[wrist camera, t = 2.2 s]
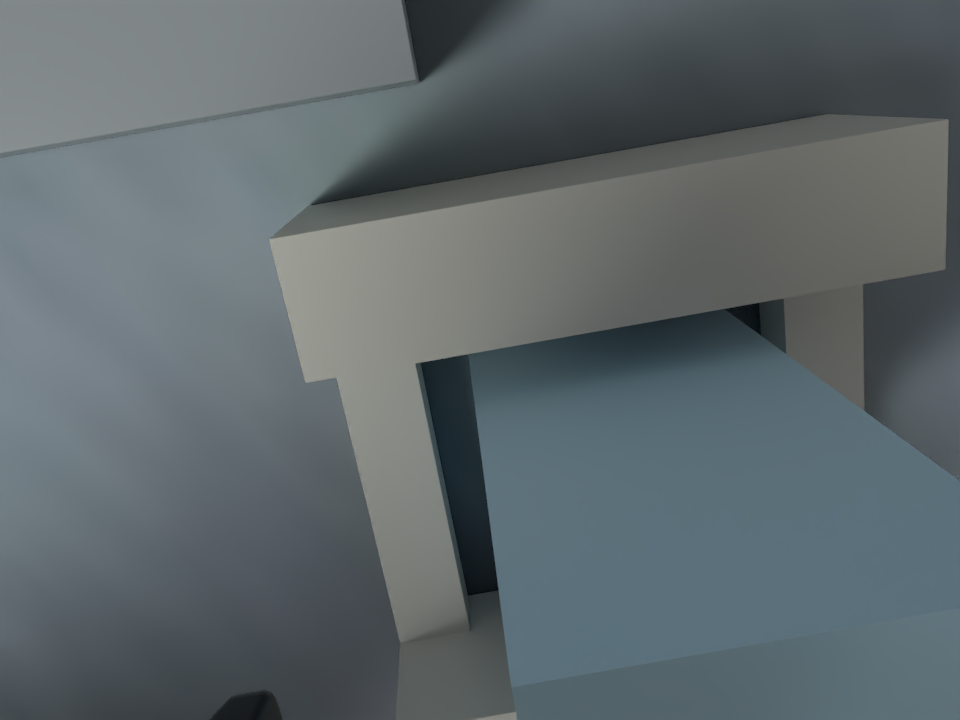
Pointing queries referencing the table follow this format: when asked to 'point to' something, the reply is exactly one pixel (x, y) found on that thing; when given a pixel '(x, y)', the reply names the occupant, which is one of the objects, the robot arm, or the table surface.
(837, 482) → the plug
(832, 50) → the table surface
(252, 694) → the robot arm
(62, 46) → the socket
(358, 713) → the table surface
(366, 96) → the table surface
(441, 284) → the grey square frame
